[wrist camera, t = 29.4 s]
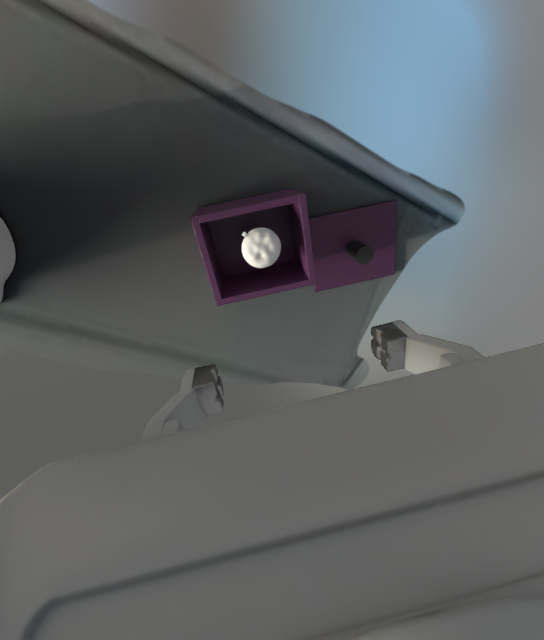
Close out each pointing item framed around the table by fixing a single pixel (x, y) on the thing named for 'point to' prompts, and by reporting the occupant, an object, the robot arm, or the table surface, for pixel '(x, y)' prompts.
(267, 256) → the milkshake
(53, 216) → the table surface
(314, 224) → the lid
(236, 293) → the box
